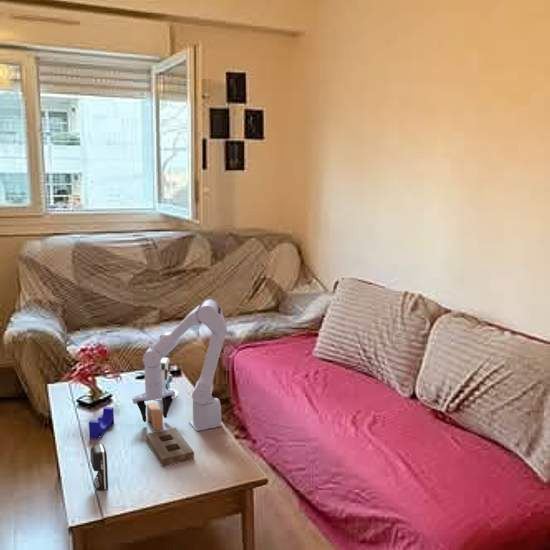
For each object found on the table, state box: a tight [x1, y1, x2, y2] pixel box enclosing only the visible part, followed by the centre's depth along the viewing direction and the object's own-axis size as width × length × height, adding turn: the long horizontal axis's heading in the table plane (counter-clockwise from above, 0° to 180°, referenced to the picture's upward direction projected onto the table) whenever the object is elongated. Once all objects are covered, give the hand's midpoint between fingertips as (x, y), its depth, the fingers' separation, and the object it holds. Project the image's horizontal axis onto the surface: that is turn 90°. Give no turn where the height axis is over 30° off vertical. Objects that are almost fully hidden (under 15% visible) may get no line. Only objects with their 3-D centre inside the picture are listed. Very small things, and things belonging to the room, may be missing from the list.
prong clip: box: [146, 402, 164, 431], centre depth 207 cm, size 3×9×6 cm, turn 27°
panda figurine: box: [154, 354, 179, 402], centre depth 230 cm, size 12×11×15 cm
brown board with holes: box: [145, 427, 195, 467], centre depth 189 cm, size 10×18×2 cm, turn 27°
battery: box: [89, 443, 109, 491], centre depth 168 cm, size 7×4×11 cm, turn 25°
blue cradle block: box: [88, 406, 115, 440], centre depth 201 cm, size 12×4×6 cm, turn 170°
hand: (154, 418), depth 207 cm, fingers open, 7 cm apart
